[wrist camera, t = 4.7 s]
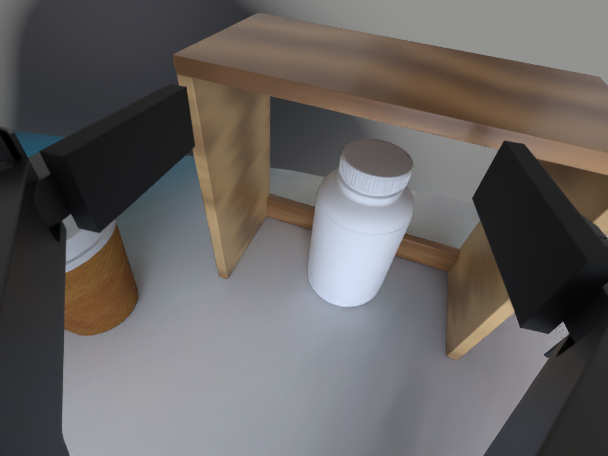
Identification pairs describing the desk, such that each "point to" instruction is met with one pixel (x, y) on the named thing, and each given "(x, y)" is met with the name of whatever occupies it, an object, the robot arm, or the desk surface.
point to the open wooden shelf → (393, 110)
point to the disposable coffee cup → (96, 280)
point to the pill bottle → (359, 221)
